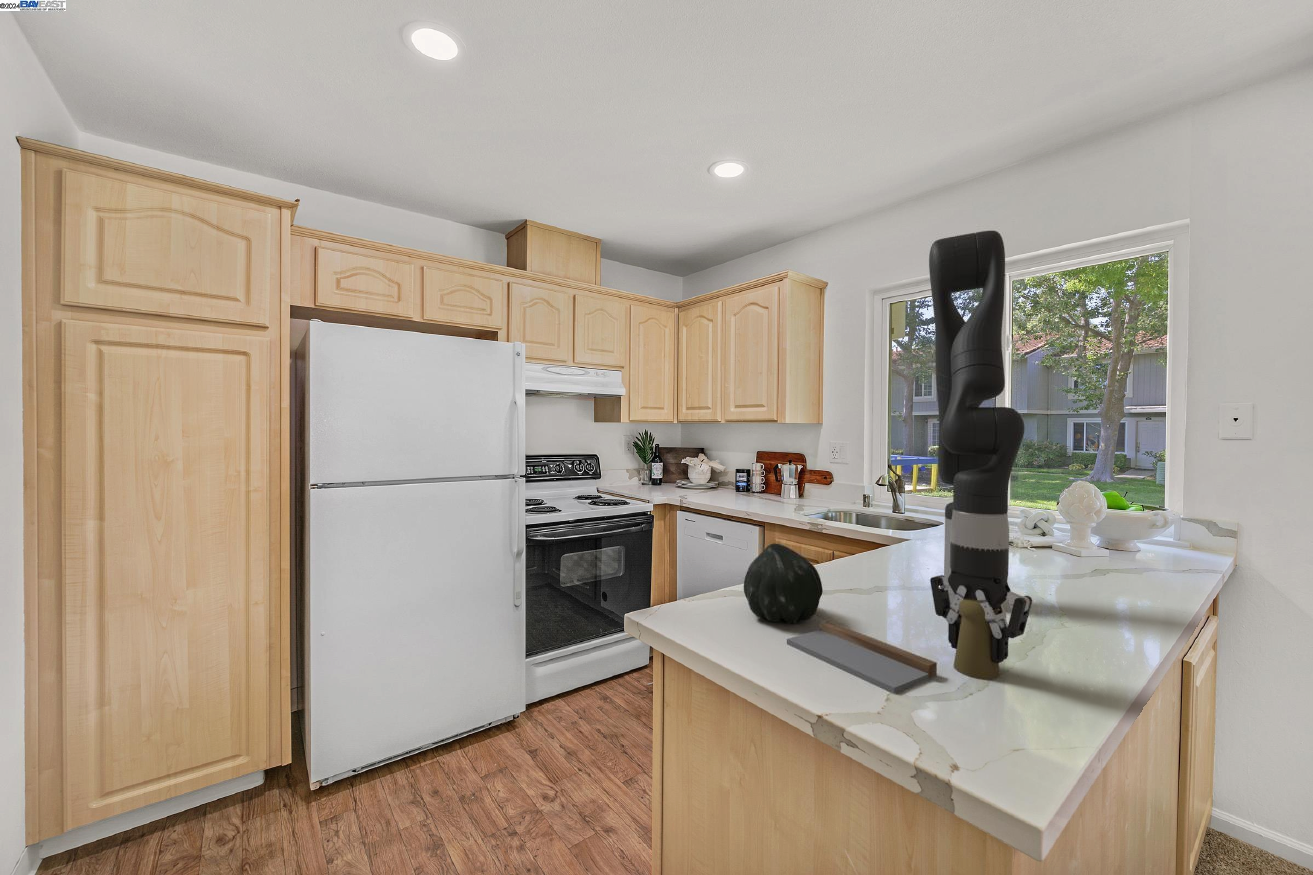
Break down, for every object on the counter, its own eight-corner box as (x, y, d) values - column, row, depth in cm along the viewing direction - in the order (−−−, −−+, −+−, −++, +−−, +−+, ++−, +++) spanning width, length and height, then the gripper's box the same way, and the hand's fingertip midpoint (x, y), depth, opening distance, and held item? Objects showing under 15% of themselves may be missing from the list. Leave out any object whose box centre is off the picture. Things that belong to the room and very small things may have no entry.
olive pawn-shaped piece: (953, 673, 81) (955, 599, 81) (953, 658, 87) (954, 589, 86) (1002, 683, 79) (1003, 606, 78) (998, 666, 84) (1000, 594, 84)
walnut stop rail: (827, 631, 98) (827, 620, 97) (936, 676, 81) (936, 662, 81) (819, 634, 96) (819, 622, 96) (928, 679, 80) (928, 665, 79)
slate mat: (819, 634, 96) (819, 629, 96) (928, 679, 80) (928, 673, 80) (786, 643, 92) (786, 638, 92) (894, 693, 75) (894, 687, 75)
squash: (827, 578, 112) (778, 522, 112) (845, 605, 97) (788, 541, 97) (773, 622, 113) (725, 566, 114) (783, 655, 99) (727, 591, 99)
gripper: (1045, 548, 78) (1042, 666, 78) (946, 531, 90) (944, 633, 91) (1019, 554, 74) (1016, 679, 74) (918, 535, 86) (917, 643, 87)
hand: (976, 653), depth 83 cm, fingers open, 5 cm apart
